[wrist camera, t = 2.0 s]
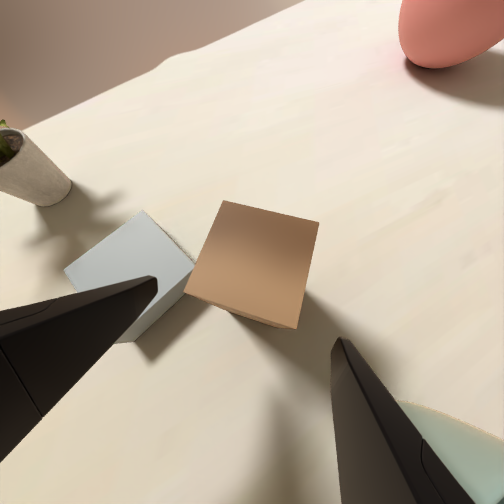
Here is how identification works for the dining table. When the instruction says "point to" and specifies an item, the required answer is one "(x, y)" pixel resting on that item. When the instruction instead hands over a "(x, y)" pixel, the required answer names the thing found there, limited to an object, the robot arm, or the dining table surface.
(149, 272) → the pedestal
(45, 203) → the house plant
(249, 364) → the dining table surface
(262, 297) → the wooden block
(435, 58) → the balloon
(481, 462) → the cup
